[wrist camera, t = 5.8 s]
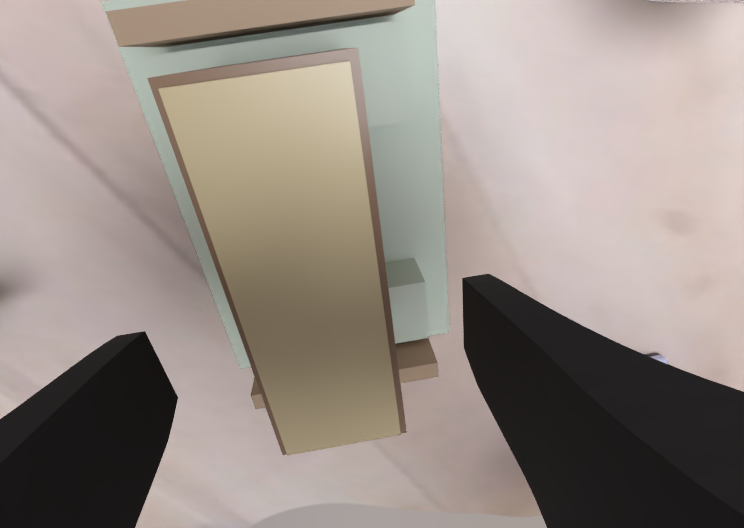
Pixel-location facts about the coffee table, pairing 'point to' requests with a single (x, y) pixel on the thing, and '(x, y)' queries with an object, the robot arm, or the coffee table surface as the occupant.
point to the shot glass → (700, 1)
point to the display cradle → (384, 116)
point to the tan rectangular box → (294, 236)
